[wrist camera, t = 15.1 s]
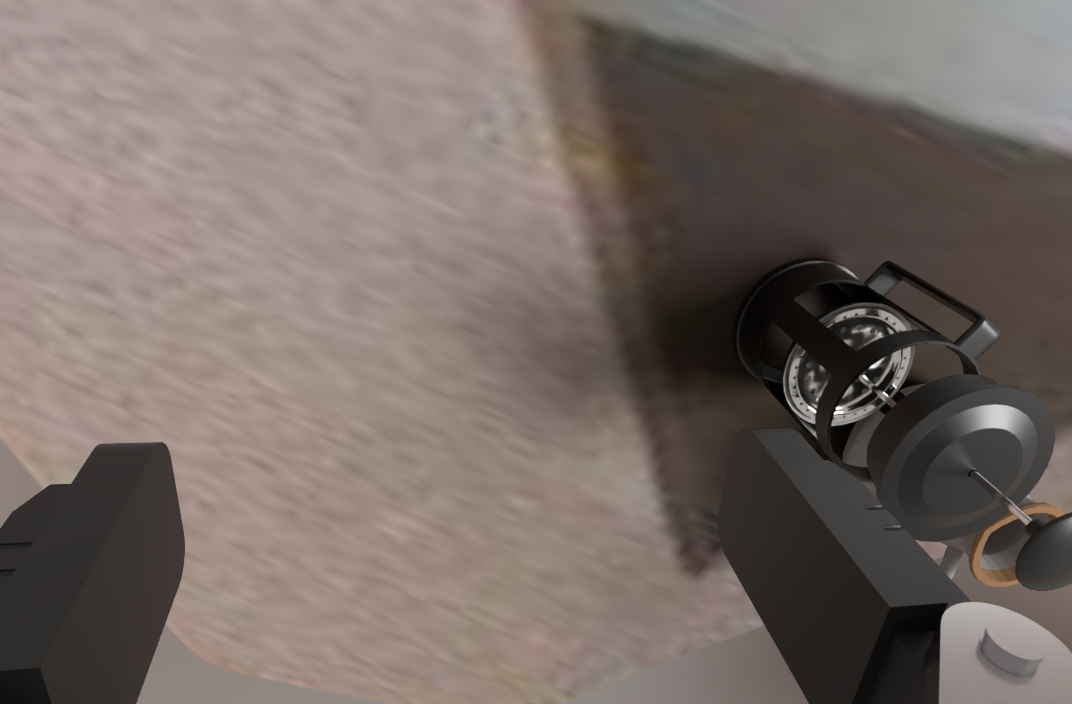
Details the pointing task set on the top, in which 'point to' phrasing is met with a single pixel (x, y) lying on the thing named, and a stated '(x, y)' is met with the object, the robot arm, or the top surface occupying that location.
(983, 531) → the coffee pot
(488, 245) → the top surface
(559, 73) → the top surface
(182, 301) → the top surface
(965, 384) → the french press
